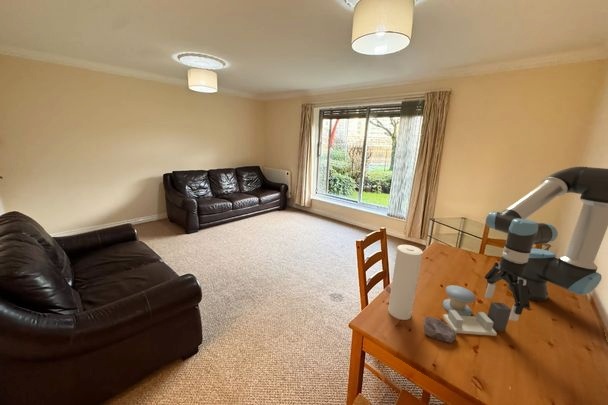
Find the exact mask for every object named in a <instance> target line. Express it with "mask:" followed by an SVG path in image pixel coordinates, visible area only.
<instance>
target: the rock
mask: <svg viewBox="0 0 608 405" xmlns="http://www.w3.org/2000/svg"><path fill="white" fill-rule="evenodd" d="M423 331H424V333H425V335H426V336H428V337H430V338H434V339H436V340H439V341H442V342H446V343H452V342H453V341H455V340H456V338H457V334H458V333H456V331H455V330H453V329H451V327H450V326H449V325H448V324H446V322H444V321H443V320H442V319H440V318H435V317H431V316H425V317H424V320H423Z"/></svg>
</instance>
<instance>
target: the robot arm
mask: <svg viewBox="0 0 608 405" xmlns="http://www.w3.org/2000/svg"><path fill="white" fill-rule="evenodd" d="M567 193H573V194H579V195H580V197H579V198H580V199H579V200H580V201H581V202H582V203H583V204H582V208H581V210H580V212H579V215H578V218H577V221H576V224H575V225H574V226H575V227H574V229H573V232H572V235H571V238H570V240H569V243H568V246H567V249H566V251H565V254H564V255H561V256H559V257H558V258H557V254H556V253H555V252H553V251H550V250H546V249H543V248H542V249H541V248H536V247H535V248H534V247H533V246H534V245H542V244H543V245H544V244H548V243H551V242H554V241H555V240H556V239H557V238H558V236H559V235H558V234H559V232H558V230H557V228H556V227H555V226H554V225H552V224H550V223H546V222H540V223H539V222H536V221H534V220H531V219H527V218H530V216H532V215H533V214H535V213H536V212H537V211H540V209H542V208H543V207H544V206H546V205H548V203H550V202H551V201H553V200H554V199H555V198H557V197H562V196H564V195H565V194H567ZM485 224H486V226H487V227H488V228H491V229H493V230H495V231H498V232H502V233H505V234H507V236H506V239H505V240H506V241H505V244H504V247H503V250H502V256H501V257H500V261H499V262H494V264H493V267H492V268H491V269H489V271H488V272H487V273H486V274H485V275H484V279H485V280H486V282H487V284H486V288H485V289H486V290H485V294H484V298H485V299H493V297H494V293H495V290H496V286H497V282H499V281H501V280H503V281H505V283H507V284H508V285H507V287H508V289H509V290H510V291H511V293H512V296H513V299H514V302H515V303H512V304H513V305H512V307H511V312H510V316H509V319H508V321H513V322H514V321H515V322H518V321H519V319H520V316H521V315H522V313H523V309H531V305H530V300H532V301H538V302H545V301H547V300H548V296H549V293H548V285H547V284H548V282H549V283H551V284H553V285H555V286H558V287H560V288H562V289H565V290H566V291H568V292H571V293H574V294H577V295H579V296H586V295H588V294H590V293H592V292H593V291H594V290H595V289H596V288H597V287H598V285H599V284H600V283H601V281H602V274H601V273H599V272H597V271H598V266H597V264H596V263H595V261H596V258H597V256H598V253H599V250H600V249H601V245H602V243H603V240H604V238H605V234H606V232H607V231H608V168H605V167H603V168H601V167H590V166H574V167H569V168H565V169H561V170H559V171H556V172H554V173H551V174H549V175H548V176H546V177H545V178H544V179H542V180H541V181H540V184H539V185H537V186H536V187H534V189H532V190H531V191H529V192H528V193H527V194H526V195H523V196H522V197H521V198H520V199H518V200H517V201H515V202H514V203H513V204H511V205H510V206H508V207H506V208H505V209H504V210H502V211H501V212H500V211H491V212H489V213H488V214H487V216H486V217H485Z"/></svg>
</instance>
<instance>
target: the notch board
mask: <svg viewBox="0 0 608 405" xmlns="http://www.w3.org/2000/svg"><path fill="white" fill-rule="evenodd" d="M442 318H443V319H444V320H445V323H447V326H448V327H449V328H451V329H453V330H455V331H456V333H457V334H465V335H466V334H469V335H479V336H483V335H484V336H493V337H494V336H495V337H497V332H496V330H493V328H492V327H493V323H494V322H493V321H492V320H491V319H490V318H489V317H488V314H487V313H485V312H483V311H477V312H476V316H474V315H473V316H472V315H471V316H460V315H459V314H458V313H457V312H456V310H449V312H448V314H447V313H446V314H442Z"/></svg>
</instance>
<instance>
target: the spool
mask: <svg viewBox="0 0 608 405" xmlns="http://www.w3.org/2000/svg"><path fill="white" fill-rule="evenodd" d="M445 293H446V295H447V296H448V297H450V298H446V299H444V300H443V302H442V306H443V309H444V310H446V312H448V313H449V310H456V312H457V313H458V314H459V315H460V316H472V313H473V312H472V308H471V307H470V306H469V305H468V304H471V303H474V302H475V300H476V295H475V294H474V293H473V291H471V290H469V289H467V288H465V287H463V286H460V285H453V284H451V285H448V286H446V287H445Z"/></svg>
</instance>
